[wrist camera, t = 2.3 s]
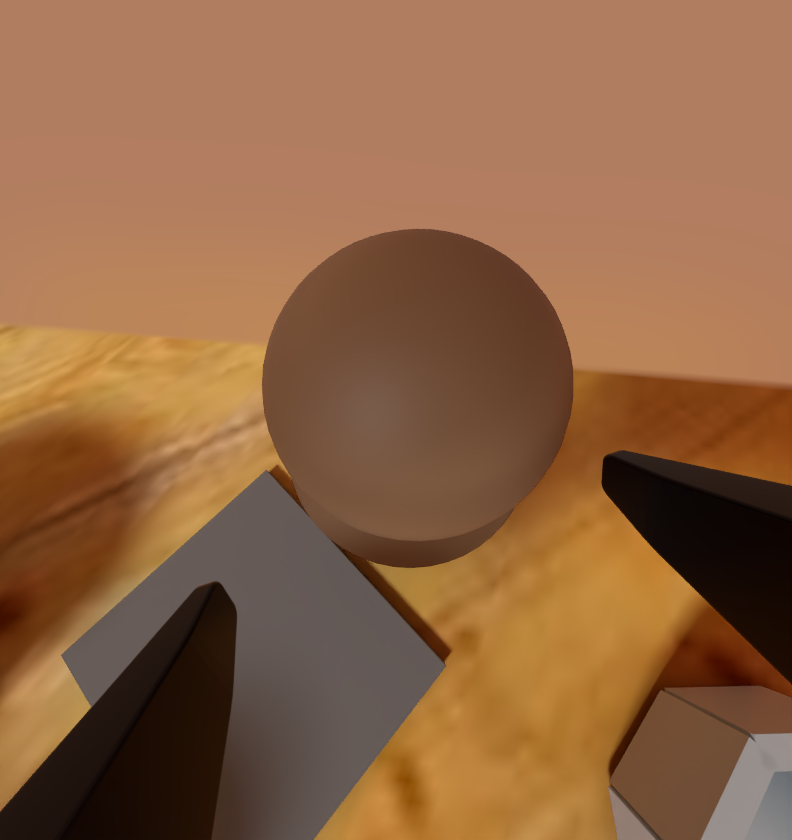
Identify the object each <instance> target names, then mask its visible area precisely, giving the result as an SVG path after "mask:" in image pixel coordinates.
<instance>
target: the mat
mask: <svg viewBox="0 0 792 840" xmlns="http://www.w3.org/2000/svg"><path fill="white" fill-rule="evenodd" d="M213 581H218V582H220V583H221V584H222V585H223V587H224V588H225V590H226V592H227V593H228V595H229V596H230V598H231V599H232V601H233V603H234V604H235V607H236V610H237V632H236V652H235V671H234V688H233V699H232V707H231V714H230V721H229V727H228V734H227V741H226V747H225V754H224V761H223V767H222V774H221V781H220V787H219V794H218V801H217V807H216V814H215V820H214V827H213V834H212V840H313V839H314V838H315V837H316V835H317V834H318V833H319V832H320V830H321V829H322V828H323V826H324V825H325V824H326V822H327V821H328V820H329V818H330V817H331V816H332V815H333V813H334V812H335V811H336V809H337V808H338V807H339V805H340V804H341V803H342V801H343V800H344V799H345V798H346V796H347V795H348V794H349V792H350V791H351V790H352V788H353V787H354V786H355V784H356V783H357V782H358V781H359V779H360V778H361V777H362V775H363V774H364V773H365V771H366V770H367V769H368V767H369V766H370V765H371V764H372V762H373V761H374V760H375V758H376V757H377V756H378V754H379V753H380V752H381V750H382V749H383V748H384V747H385V745H386V744H387V743H388V741H389V740H390V739H391V737H392V736H393V735H394V733H395V732H396V731H397V730H398V728H399V727H400V726H401V724H402V723H403V722H404V720H405V719H406V718H407V716H408V715H409V714H410V713H411V711H412V710H413V709H414V707H415V706H416V705H417V703H418V702H419V701H420V699H421V698H422V697H423V696H424V694H425V693H426V692H427V690H428V689H429V688H430V686H431V685H432V684H433V683H434V681H435V680H436V679H437V677H438V676H439V675H440V673H441V672H442V671H443V669H444V668H445V667H446V665H445V662H444V661H443V660H442V659H441V658H440V657H439V656H438V655H437V654H436V653H435V651H434V650H433V649H432V648H431V647H430V646H429V645H428V644H427V643H426V642H425V641H424V639H423V638H422V637H421V636H420V635H419V634H418V633H417V632H416V631H415V630H414V629H413V628H412V626H411V625H410V624H409V623H408V622H407V621H406V620H405V619H404V618H403V617H402V616H401V614H400V613H399V612H398V611H397V610H396V609H395V608H394V607H393V606H392V605H391V604H390V603H389V601H388V600H387V599H386V598H385V597H384V596H383V595H382V594H381V593H380V592H379V591H378V589H377V588H376V587H375V586H374V585H373V584H372V583H371V582H370V581H369V580H368V579H367V578H366V576H365V575H364V574H363V573H362V572H361V571H360V570H359V569H358V568H357V567H356V566H355V564H354V563H353V562H352V561H351V560H350V559H349V558H348V557H347V556H346V555H345V554H344V553H343V551H342V550H341V549H340V548H339V547H338V546H337V545H336V544H335V543H334V542H333V541H332V540H331V539H330V538H329V537H328V536H326V535H325V534H324V533H323V532H322V531H321V530H320V529H319V528H318V527H317V525H316V524H315V523H314V522H313V520H312V519H311V518H310V517H309V515H308V514H307V512H306V511H305V510H304V509H303V508H302V507H301V506H300V505H299V504H298V503H297V501H296V500H295V499H294V498H293V497H292V496H291V495H290V494H289V493H288V492H287V491H286V489H285V488H284V487H283V486H282V485H281V484H280V483H279V482H278V481H277V480H276V479H275V478H274V476H273V475H272V474H271V473H270V472H268V471H267V470H266V471H265V472H263V473H262V474H261V475H260V476H259V477H258V478H257V479H256V480H255V481H254V482H252V483H251V484H250V485H249V486H248V487H247V488H246V489H245V490H244V491H242V492H241V493H240V494H239V495H238V496H237V497H236V498H235V499H234V500H232V501H231V502H230V503H229V504H228V505H227V506H226V507H225V508H224V509H222V510H221V511H220V512H219V513H218V514H217V515H216V516H215V517H214V518H212V519H211V520H210V521H209V522H208V523H207V524H206V525H205V526H204V527H202V528H201V529H200V530H199V531H198V532H197V533H196V534H195V535H194V536H193V537H191V538H190V539H189V540H188V541H187V542H186V543H185V544H184V545H183V546H181V547H180V548H179V549H178V550H177V551H176V552H175V553H174V554H173V555H171V556H170V557H169V558H168V559H167V560H166V561H165V562H164V563H163V564H161V565H160V566H159V567H158V568H157V569H156V570H155V571H154V572H153V573H151V574H150V575H149V576H148V577H147V578H146V579H145V580H144V581H143V582H141V583H140V584H139V585H138V586H137V587H136V588H135V589H134V590H133V591H132V592H130V593H129V594H128V595H127V596H126V597H125V598H124V599H123V600H122V601H120V602H119V603H118V604H117V605H116V606H115V607H114V608H113V609H112V610H110V611H109V612H108V613H107V614H106V615H105V616H104V617H103V618H102V619H100V620H99V621H98V622H97V623H96V624H95V625H94V626H93V627H92V628H90V629H89V630H88V631H87V632H86V633H85V634H84V635H83V636H82V637H80V638H79V639H78V640H77V641H76V642H75V643H74V644H73V645H72V646H71V647H69V648H68V649H67V650H66V651H65V652H64V653H63V654H62V655H61V656H62V658H63V660H64V661H65V663H66V665H67V666H68V668H69V670H70V671H71V673H72V675H73V676H74V678H75V680H76V682H77V683H78V685H79V687H80V688H81V690H82V692H83V693H84V695H85V697H86V699H87V700H88V702H89V704H90V705H91V707H92V706H93V705H94V704H95V703H96V702H97V700H98V699H99V698H100V697H101V696H102V695H103V694H104V692H105V691H106V690H107V689H108V688H109V687H110V686H111V684H112V683H113V682H114V681H115V680H116V679H117V678H118V676H119V675H120V674H121V673H122V672H123V671H124V670H125V668H126V667H127V666H128V665H129V664H130V663H131V662H132V660H133V659H134V658H135V657H136V656H137V655H138V654H139V652H140V651H141V650H142V649H143V648H144V647H145V645H146V644H147V643H148V642H149V641H150V640H151V639H152V637H153V636H154V635H155V634H156V633H157V632H158V631H159V629H160V628H161V627H162V626H163V625H164V624H165V623H166V621H167V620H168V619H169V618H170V617H171V616H172V615H173V613H174V612H175V611H176V610H177V609H178V608H179V607H180V605H181V604H182V603H183V602H184V601H185V600H186V599H187V597H188V596H189V595H190V594H191V593H192V592H193V591H194V590H195V589H196V588H197V587H199V586H201V585H204V584H207V583H210V582H213Z"/></svg>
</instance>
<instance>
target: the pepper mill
mask: <svg viewBox="0 0 792 840" xmlns="http://www.w3.org/2000/svg"><path fill="white" fill-rule="evenodd" d="M262 393H263V405H264V414H265V418H266V422H267V426H268V430H269V433H270V436H271V438H272V441H273V443H274V446H275V448H276V451H277V453H278V455H279V458H280V459H281V461H282V463H283V464H284V466H285V468H286V469H287V471H288V473H289V474H290V476H291V477H292V481H293V485H294V488H295V490H296V493H297V495H298V497H299V500H300V502H301V504H302V505H303V507H304V509H305V510H306V512H307V514H308V515H309V517H310V518H311V519H312V520H313V522H314V523H315V524H316V525H317V527H318V528H319V529H320V530H321V531H322V532H323V533H324V534H325V535H326V536H328V537H329V538H330V539H331V540H332V541H333V542H335V543H336V544H338V545H339V546H340V547H342V548H343V549H345V550H347V551H348V552H350V553H352V554H354V555H356V556H358V557H360V558H363V559H366V560H369V561H371V562H374V563H377V564H382V565H387V566H392V567H406V568H416V567H427V566H433V565H437V564H441V563H446V562H449V561H451V560H454V559H456V558H459V557H461V556H464V555H465V554H467V553H469V552H471V551H472V550H474V549H476V548H478V547H479V546H480V545H482V544H483V543H484V542H485V541H487V540H488V539H489V538H490V537H492V536H493V535H494V534H495V532H496V531H497V530H498V529H499V528H500V527H501V526H502V525H503V524H504V522H505V521H506V520H507V518H508V517H509V515H510V514H511V513H512V511H513V509H514V507H515V506H516V505H517V504H518V503H520V502H521V501H522V500H523V499H524V498H525V497H526V496H527V495H528V494H529V493H530V492H531V491H532V490H533V489H534V488H535V487H536V485H537V484H538V483H539V481H540V480H541V478H542V477H543V476H544V474H545V473H546V471H547V470H548V468H549V467H550V466H551V464H552V463H553V461H554V459H555V457H556V455H557V453H558V451H559V449H560V447H561V445H562V442H563V438H564V435H565V432H566V429H567V426H568V422H569V419H570V415H571V408H572V401H573V367H572V360H571V354H570V349H569V346H568V342H567V339H566V336H565V333H564V330H563V327H562V324H561V322H560V320H559V318H558V316H557V313H556V311H555V309H554V308H553V306H552V304H551V303H550V301H549V300H548V298H547V297H546V295H545V294H544V293H543V291H542V290H541V289H540V288H539V287H538V285H537V284H536V283H535V282H534V280H533V279H532V278H531V277H530V276H529V275H528V274H527V273H526V272H525V271H524V270H523V269H522V268H521V267H520V266H519V265H518V264H516V263H515V262H514V261H512V260H511V259H510V258H508V257H507V256H506V255H504V254H502V253H501V252H499V251H497V250H495V249H494V248H492V247H490V246H488V245H485V244H484V243H481V242H479V241H477V240H474V239H471V238H468V237H466V236H463V235H459V234H455V233H451V232H446V231H439V230H431V229H411V230H410V229H409V230H399V231H393V232H387V233H382V234H378V235H375V236H371V237H368V238H365V239H363V240H360V241H357V242H355V243H353V244H351V245H349V246H347V247H345V248H343V249H341V250H339V251H338V252H336V253H335V254H333V255H332V256H330V257H329V258H328V259H326V260H325V261H324V262H322V263H321V264H320V265H319V266H318V267H317V268H315V269H314V270H313V271H312V272H311V273H309V274H308V275H307V277H306V278H305V279H304V280H303V281H302V282H301V283H300V284H299V285H298V287H297V288H296V289H295V291H294V292H293V293H292V295H291V296H290V298H289V299H288V301H287V302H286V304H285V305H284V307H283V309H282V311H281V313H280V314H279V316H278V319H277V320H276V322H275V325H274V328H273V330H272V333H271V336H270V339H269V342H268V346H267V350H266V355H265V360H264V364H263V378H262Z"/></svg>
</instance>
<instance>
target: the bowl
mask: <svg viewBox="0 0 792 840" xmlns="http://www.w3.org/2000/svg"><path fill="white" fill-rule="evenodd" d="M664 690H665V692H664V691H662V690H660V692H659V694H658V695H657V697H656V699H655V701H654V702H653V704H652V706H651V708H650V709H649V711H648V713H647V715H646V716H645V718H644V720H643V722H642V724H641V725H640V727H639V729H638V731H637V732H636V734H635V736H634V738H633V739H632V741H631V743H630V745H629V746H628V748H627V750H626V752H625V754H624V755H623V757H622V759H621V761H620V762H619V764H618V766H617V768H616V769H615V771H614V773H613V775H612V776H611V778H610V780H609V782H610V783H611V784H612V785H613V787H608V788H609V794H610V799H611V805H612V810H613V816H614V821H615V827H616V832H617V838H618V840H792V697H789V696H787V695H784V694H781V693H778V692H776V691H773V690H770V689H768V688H765V687H762V686H723V687H681V688H664Z"/></svg>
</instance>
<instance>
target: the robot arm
mask: <svg viewBox="0 0 792 840" xmlns="http://www.w3.org/2000/svg"><path fill="white" fill-rule="evenodd" d="M602 487H603V490H604V491H605V493H606V494H607V495H608V497H609V498H610V499H611V500H612V501H613V503H614V504H615V505H616V506H617V507H618V508H619V510H620V511H621V512H622V513H623V514H624V515H625V517H626V518H627V519H628V520H629V521H630V522H631V524H632V525H633V526H634V527H635V528H636V530H637V531H638V532H639V533H640V534H641V535H642V537H643V538H644V539H645V540H646V541H647V542H648V543H649V544H650V545H651V547H652V548H653V549H654V550H655V551H656V552H657V553H658V554H659V555H660V556H661V557H662V558H663V559H664V560H665V561H666V562H667V563H668V564H669V565H670V566H671V567H672V568H673V569H674V570H676V571H677V572H678V573H679V574H680V575H681V576H682V577H683V578H684V579H685V580H686V581H687V582H688V583H689V584H690V585H691V586H692V587H693V588H694V589H695V590H696V591H697V592H698V593H699V594H700V595H701V596H702V597H703V598H704V599H705V600H706V601H707V602H708V603H709V604H710V605H711V606H712V607H713V608H714V609H715V610H716V611H717V612H718V613H719V614H720V615H721V616H722V617H723V618H724V619H725V620H727V621H728V622H729V623H730V624H731V625H732V626H733V627H734V628H735V629H736V630H737V631H738V632H739V633H740V634H741V635H742V636H743V637H744V638H745V639H746V640H747V641H748V642H749V643H750V644H751V645H752V646H753V647H754V648H755V649H756V650H757V651H758V652H759V653H760V654H761V655H762V656H763V657H764V658H765V659H766V660H767V661H768V662H769V663H770V664H771V665H772V666H773V667H774V668H775V669H776V670H777V671H779V672H780V673H781V674H782V675H783V676H784V677H785V678H786V679H787V680H788V681H789V682H790V683H791V684H792V486H790V485H785V484H781V483H776V482H771V481H766V480H762V479H757V478H752V477H747V476H743V475H738V474H733V473H728V472H724V471H719V470H714V469H709V468H705V467H700V466H695V465H691V464H686V463H681V462H676V461H672V460H667V459H662V458H657V457H653V456H648V455H643V454H638V453H634V452H629V451H617V452H614V453H611V454H608V455H606V456H605V457H604V459H603V467H602ZM236 632H237V610H236V607H235V604H234V603H233V601H232V599H231V598H230V596H229V595H228V593H227V592H226V590H225V588H224V587H223V585H222V584H221V583H220V582H218V581H213V582H210V583H207V584H204V585H201V586H199V587H197V588H196V589H195V590H194V591H193V592H192V593H191V594H190V595H189V596H188V597H187V599H186V600H185V601H184V602H183V603H182V604H181V605H180V607H179V608H178V609H177V610H176V611H175V612H174V613H173V615H172V616H171V617H170V618H169V619H168V620H167V621H166V623H165V624H164V625H163V626H162V627H161V628H160V629H159V631H158V632H157V633H156V634H155V635H154V636H153V637H152V639H151V640H150V641H149V642H148V643H147V644H146V645H145V647H144V648H143V649H142V650H141V651H140V652H139V654H138V655H137V656H136V657H135V658H134V659H133V660H132V662H131V663H130V664H129V665H128V666H127V667H126V668H125V670H124V671H123V672H122V673H121V674H120V675H119V676H118V678H117V679H116V680H115V681H114V682H113V683H112V684H111V686H110V687H109V688H108V689H107V690H106V691H105V692H104V694H103V695H102V696H101V697H100V698H99V699H98V700H97V702H96V703H95V704H94V705H93V706H92V707H91V709H90V710H89V711H88V712H87V713H86V714H85V715H84V717H83V718H82V719H81V720H80V721H79V722H78V723H77V725H76V726H75V727H74V728H73V729H72V730H71V731H70V733H69V734H68V735H67V736H66V737H65V738H64V739H63V741H62V742H61V743H60V744H59V745H58V746H57V747H56V749H55V750H54V751H53V752H52V753H51V754H50V755H49V757H48V758H47V759H46V760H45V761H44V762H43V763H42V765H41V766H40V767H39V768H38V769H37V770H36V771H35V773H34V774H33V775H32V776H31V777H30V778H29V779H28V781H27V782H26V783H25V784H24V785H23V786H22V787H21V789H20V790H19V791H18V792H17V793H16V794H15V795H14V797H13V798H12V799H11V800H10V801H9V802H8V803H7V805H6V806H5V807H4V808H3V809H2V810H1V812H0V840H212V834H213V827H214V820H215V814H216V807H217V801H218V794H219V787H220V781H221V774H222V767H223V761H224V754H225V747H226V741H227V734H228V727H229V721H230V714H231V707H232V699H233V688H234V671H235V652H236Z"/></svg>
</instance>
